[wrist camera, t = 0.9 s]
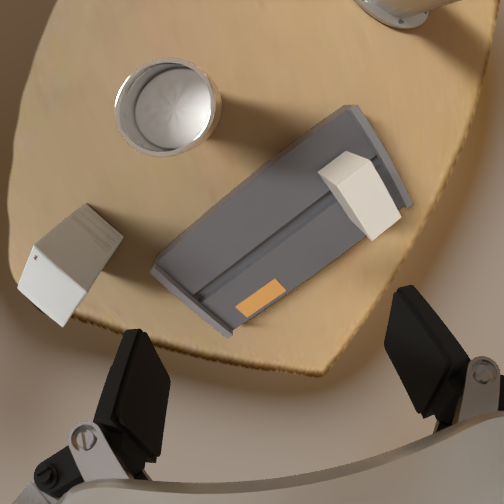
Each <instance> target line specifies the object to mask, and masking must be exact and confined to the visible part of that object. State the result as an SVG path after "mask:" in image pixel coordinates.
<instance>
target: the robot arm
mask: <svg viewBox="0 0 504 504" xmlns="http://www.w3.org/2000/svg"><path fill="white" fill-rule="evenodd" d="M355 1H356V2H357V3H358V5H359V6H360V7H361V8H362V9H363V10H364V11H365V12H367V13H368V14H369V15H371V16H372V17H373V18H375V19H376V20H378V21H380V22H381V23H384V24H386V25H388V26H391V27H394V28H398V29H412V28H415V27H418V26H420V25H422V24H423V23H424V22H425V21H426V19H427V17H428V15H429V10H432V9H435V8H438V7H441V6H444V5H447V4H451V3H454V2H457V1H461V0H355ZM384 346H385V350H386V352H387V354H388V356H389V358H390V359H391V361H392V363H393V365H394V367H395V369H396V371H397V373H398V375H399V376H400V379H401V381H402V383H403V385H404V387H405V389H406V391H407V393H408V395H409V397H410V399H411V401H412V403H413V405H414V407H415V410H416V411H417V412H418V413H419V414H420V413H421V414H422V416H423V419H424V418H427V417H429V416H431V415H435V417H436V419H437V421H436V425H435V428H434V431H433V434H432V435H429V436H427V437H425V438H422V439H420V440H418V441H415V442H413V443H410V444H407V445H405V446H402V447H400V448H397V449H394V450H392V451H389V452H386V453H383V454H380V455H377V456H374V457H370V458H367V459H364V460H361V461H357V462H353V463H350V464H346V465H342V466H338V467H334V468H330V469H325V470H321V471H316V472H311V473H306V474H300V475H295V476H288V477H282V478H273V479H265V480H256V481H243V482H225V483H181V482H161V481H152V479H151V478H150V477H149V475H148V474H147V473H146V471H145V470H144V467H145V462H149V463H156V459H157V457H159V456H160V454H161V448H162V440H163V432H164V424H165V416H166V410H167V403H168V396H169V390H170V377H169V375H168V373H167V371H166V369H165V368H164V366H163V364H162V362H161V360H160V358H159V356H158V354H157V352H156V350H155V348H154V346H153V344H152V342H151V340H150V338H149V336H148V334H147V333H146V332H143V331H142V330H141V329H130V330H126V331H125V333H124V335H123V338H122V340H121V343H120V346H119V348H118V351H117V354H116V357H115V359H114V362H113V365H112V366H111V368H110V371H109V373H108V376H107V379H106V382H105V385H104V388H103V391H102V394H101V397H100V400H99V403H98V406H97V410H96V413H95V416H94V420H93V422H90V421H82V422H80V423H77V424H76V425H75V426H74V427H73V428H72V429H71V430H70V433H69V435H68V446H66V447H65V448H64V449H62V450H60V451H59V452H57V453H56V454H54V455H52V456H51V457H49V458H48V459H46V460H45V461H43V462H41V463H40V464H39V465H38V466H37V468H36V469H35V472H34V481H35V482H34V483H32V482H30V483H29V484H28V485H27V487H26V488H25V489H24V490H23V491H22V493H21V494H20V495H19V496H18V498H17V499H16V500H15V501H14V502H13V503H12V504H504V375H500V369H499V367H498V365H497V364H496V363H495V361H493V360H492V359H490V358H488V357H485V356H479V357H475V358H474V359H473V360H470V358H469V357H468V355H467V354H466V352H465V351H464V349H463V348H462V347H461V345H460V344H459V342H458V341H457V340H456V339H455V337H454V336H453V335H452V333H451V332H450V331H449V329H448V328H447V326H446V325H445V324H444V323H443V321H442V320H441V319H440V317H439V316H438V315H437V314H436V312H435V311H434V310H433V309H432V307H431V306H430V305H429V304H428V303H427V301H426V300H425V299H424V298H423V296H422V295H421V294H420V293H419V292H418V290H417V289H416V288H415V287H414V286H413V285H408V286H404V287H400V288H398V289H397V292H395V293H394V295H393V300H392V306H391V311H390V317H389V321H388V326H387V331H386V336H385V340H384Z"/></svg>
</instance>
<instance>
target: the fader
mask: <svg viewBox="0 0 504 504" xmlns="http://www.w3.org/2000/svg"><path fill="white" fill-rule="evenodd" d="M318 174H319V175H320V176H321V178H322V179H323V181H324V182H325V183H326V185H327V186H328V188H329V189H330V190H331V192H332V193H333V195H334V196H335V198H336V199H337V201H338V202H339V204H340V205H341V207H342V208H343V210H344V211H345V213H346V214H347V216H348V217H349V219H350V220H351V221H352V222H353V223H354V224H355V225H356V226H357V227H358V228H359V229H360V230H361V231H362V232H363V233H364V234H365V235H366V236H367V237H368V238H369V239H370V240H371V241H372V240H374V239H375V238H376V237H377V236H379V235H380V234H381V233H383V232H384V231H385V230H386V229H388V228H389V227H390V226H391V225H393V224H394V223H395V222H396V221H398V220H399V219H400V218H401V215H400V213H399V211H398V209H397V207H396V206H395V204H394V202H393V200H392V198H391V196H390V194H389V192H388V190H387V189H386V187H385V185H384V183H383V181H382V180H381V178H380V176H379V174H378V173H377V171H376V169H375V167H374V166H373V164H372V162H371V161H370V160H369V159H366V158H364V157H361V156H358V155H356V154H353V153H350V152H348V151H345V152H343V153H342V154H341V155H339V156H338V157H337V158H335V159H334V160H333V161H331V162H330V163H329V164H328V165H326V166H325V167H324V168H322V169H321V170H320V171H318Z"/></svg>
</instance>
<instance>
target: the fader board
mask: <svg viewBox="0 0 504 504" xmlns="http://www.w3.org/2000/svg"><path fill="white" fill-rule="evenodd" d="M345 151H348V152H350V153H353V154H356V155H358V156H361V157H364V158H366V159H369V160H370V161H371V162H372V164H373V166H374V167H375V169H376V171H377V173H378V174H379V176H380V178H381V180H382V181H383V183H384V185H385V187H386V189H387V190H388V192H389V194H390V196H391V198H392V200H393V202H394V204H395V206H396V207H397V209H398V210H399V209H401V208H402V207H403V206H404V207H406V208H407V209H408V208H409V207H410V206H412V205H413V202H412V200H411V198H410V196H409V194H408V192H407V190H406V188H405V186H404V184H403V182H402V180H401V178H400V176H399V174H398V172H397V170H396V168H395V166H394V164H393V163H392V161H391V159H390V157H389V155H388V153H387V152H386V150H385V148H384V146H383V145H382V143H381V141H380V140H379V138H378V136H377V135H376V133H375V131H374V130H373V128H372V126H371V125H370V123H369V122H368V120H367V118H366V117H365V115H364V114H363V112H362V111H361V109H360V108H359V106H358V105H343V106H342V107H341V108H339V109H338V110H336V111H335V112H334V113H332V114H331V115H329V116H328V117H327V118H325V119H324V120H322V121H321V122H320V123H318V124H317V125H316V126H314V127H313V128H311V129H310V130H309V131H307V132H306V133H305V134H303V135H302V136H301V137H299V138H298V139H297V140H295V141H294V142H293V143H291V144H290V145H289V146H287V147H286V148H285V149H283V150H282V151H281V152H280V153H278V154H277V155H276V156H274V157H273V158H272V159H271V160H269V161H268V162H267V163H265V164H264V165H263V166H262V167H260V168H259V169H258V170H257V171H255V172H254V173H253V174H252V175H250V176H249V177H248V178H247V179H245V180H244V181H243V182H242V183H241V184H239V185H238V186H237V187H236V188H234V189H233V190H232V191H231V192H230V193H228V194H227V195H226V196H225V197H224V198H222V199H221V200H220V201H219V202H218V203H216V204H215V205H214V206H213V207H212V208H210V209H209V210H208V211H207V212H206V213H205V214H203V215H202V216H201V217H200V218H199V219H198V220H197V221H195V222H194V223H193V224H192V225H191V226H190V227H189V228H187V229H186V230H185V231H184V232H183V233H182V234H181V235H179V236H178V237H177V238H176V239H175V240H174V241H173V242H172V243H171V244H169V245H168V246H167V247H166V248H165V249H164V250H163V251H162V252H161V253H160V254H158V255H157V256H156V258H155V260H154V262H153V264H152V267H151V269H150V271H149V273H150V274H151V275H152V276H154V277H155V278H156V279H157V280H158V281H159V282H160V283H161V284H162V285H164V286H165V287H166V288H167V289H168V290H169V291H170V292H172V293H173V294H174V295H175V296H176V297H177V298H178V299H180V300H181V301H182V302H183V303H184V304H185V305H187V306H188V307H189V308H190V309H191V310H193V311H194V312H195V313H196V314H197V315H199V316H200V317H201V318H202V319H203V320H205V321H206V322H207V323H208V324H210V325H211V326H212V327H213V328H215V329H216V330H217V331H218V332H220V333H221V334H222V335H223V336H225V337H226V338H229V337H231V336H232V335H233V330H234V329H235V328H237V327H238V326H240V325H241V324H243V323H244V322H246V321H247V320H249V319H250V318H252V317H253V316H255V315H256V314H258V313H259V312H261V311H262V310H264V309H265V308H267V307H268V306H270V305H271V304H273V303H274V302H276V301H277V300H279V299H280V298H281V297H283V296H284V295H286V294H287V293H289V292H290V291H292V290H293V289H294V288H296V287H297V286H299V285H300V284H301V283H303V282H304V281H306V280H307V279H309V278H310V277H311V276H313V275H314V274H315V273H317V272H318V271H320V270H321V269H322V268H324V267H325V266H326V265H328V264H329V263H331V262H332V261H333V260H335V259H336V258H337V257H339V256H340V255H341V254H343V253H344V252H345V251H347V250H348V249H349V248H351V247H352V246H353V245H355V244H356V243H357V242H359V241H360V240H361V239H363V238H364V237H365V236H366V235H365V234H364V233H363V232H362V231H361V230H360V229H359V228H358V227H357V226H356V225H355V224H354V223H353V222H352V221H351V220H350V219H349V217H348V216H347V214H346V213H345V211H344V210H343V208H342V207H341V205H340V204H339V202H338V201H337V199H336V198H335V196H334V195H333V193H332V192H331V190H330V189H329V188H328V186H327V185H326V183H325V182H324V181H323V179H322V178H321V176H320V175H319V174H318V171H320V170H321V169H322V168H324V167H325V166H326V165H328V164H329V163H330V162H331V161H333V160H334V159H335V158H337V157H338V156H339V155H341V154H342V153H343V152H345Z"/></svg>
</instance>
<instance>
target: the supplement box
mask: <svg viewBox="0 0 504 504" xmlns="http://www.w3.org/2000/svg"><path fill="white" fill-rule="evenodd" d="M123 238H124V237H123V236H122V235H121V234H120V233H119V232H118V231H117V230H115V229H114V228H113V227H112V226H111V225H110V224H108V223H107V222H106V221H105V220H104V219H103V218H102V217H101V216H99V215H98V214H97V213H96V212H95V211H94V210H93V209H92V208H90V207H89V206H88V205H87V204H86V203H85V204H83V205H82V206H81V207H79V208H78V209H77V210H76V211H74V212H73V213H72V214H70V215H69V216H68V217H67V218H65V219H64V220H63V221H61V222H60V223H59V224H58V225H57V226H55V227H54V228H53V229H52V230H50V231H49V232H48V233H47V234H46V235H45V236H43V237H42V238H41V239H40V240H39V241H37V242H36V243H35V244H34V245H33V248H32V250H31V253H30V255H29V258H28V260H27V263H26V266H25V268H24V271H23V273H22V276H21V279H20V281H19V284H18V287H17V288H18V290H20V291H21V292H22V293H23V294H24V295H25V296H26V297H27V298H28V299H29V300H31V301H32V302H33V303H34V304H35V305H36V306H37V307H39V308H40V309H41V310H42V311H43V312H44V313H46V314H47V315H48V316H49V317H50V318H52V319H53V320H54V321H56V322H57V323H58V324H59V325H60V326H62V327H64V325H65V324H66V323H67V321H68V320H69V318H70V317H71V315H72V314H73V313H74V311H75V310H76V308H77V307H78V306H79V304H80V303H81V302H82V300H83V299H84V298H85V296H86V295H87V293H88V292H89V290H90V288H91V286H92V284H93V283H94V281H95V280H96V278H97V277H98V275H99V274H100V272H101V271H102V269H103V268H104V266H105V265H106V263H107V262H108V260H109V259H110V257H111V256H112V254H113V253H114V252H115V250H116V249H117V247H118V246H119V244H120V243H121V241H122V240H123Z"/></svg>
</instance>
